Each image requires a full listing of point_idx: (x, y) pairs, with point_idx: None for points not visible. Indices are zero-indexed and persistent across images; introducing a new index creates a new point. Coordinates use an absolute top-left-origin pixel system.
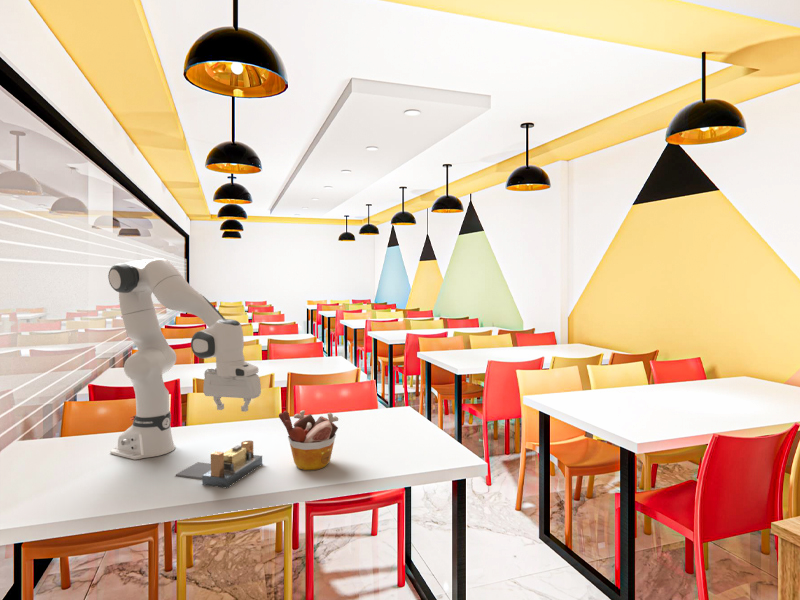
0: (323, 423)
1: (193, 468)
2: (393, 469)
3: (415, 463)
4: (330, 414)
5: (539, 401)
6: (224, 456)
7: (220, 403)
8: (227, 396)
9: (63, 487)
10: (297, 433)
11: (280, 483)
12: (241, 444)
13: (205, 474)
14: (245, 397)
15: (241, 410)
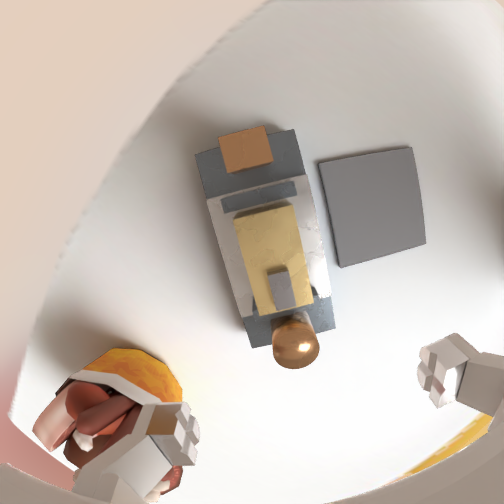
0: (45, 439)
1: (404, 202)
2: (37, 393)
3: None
4: (74, 479)
5: None
6: (270, 209)
7: (464, 388)
8: (371, 500)
9: (499, 42)
10: (67, 394)
11: (106, 260)
12: (307, 331)
13: (290, 139)
14: (48, 489)
15: (179, 403)
